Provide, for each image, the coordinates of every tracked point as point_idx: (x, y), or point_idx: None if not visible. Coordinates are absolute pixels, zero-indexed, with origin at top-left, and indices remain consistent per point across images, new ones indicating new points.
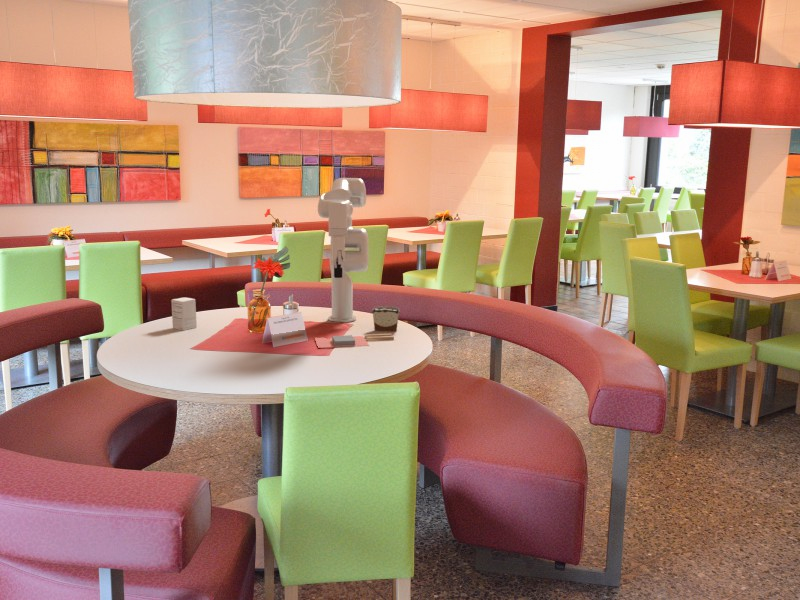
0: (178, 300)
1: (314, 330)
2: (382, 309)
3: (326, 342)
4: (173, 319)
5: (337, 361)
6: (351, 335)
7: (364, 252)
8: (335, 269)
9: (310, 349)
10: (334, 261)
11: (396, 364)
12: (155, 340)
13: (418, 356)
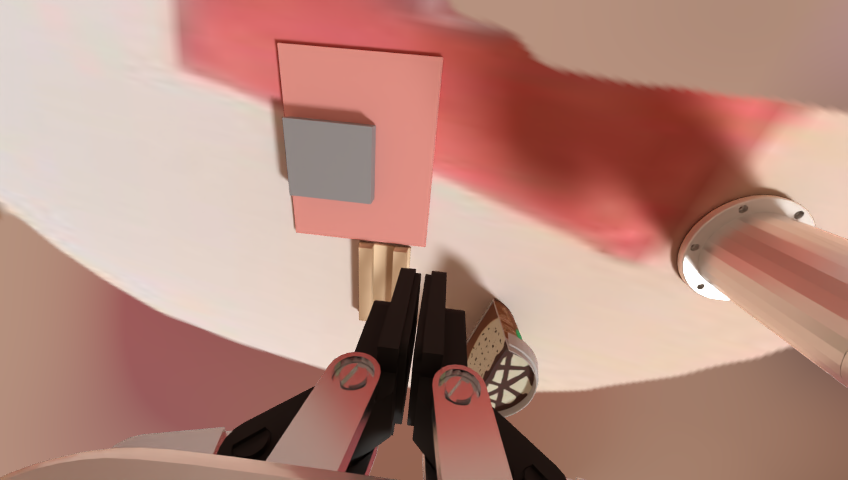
0: None
1: (603, 90)
2: (513, 377)
3: (353, 95)
4: None
5: (108, 83)
6: (368, 202)
7: None
8: (383, 342)
9: (271, 5)
10: (451, 477)
11: (107, 246)
12: None
13: (193, 315)
